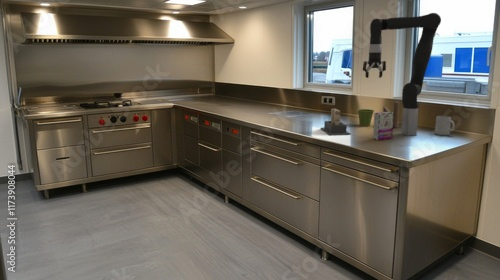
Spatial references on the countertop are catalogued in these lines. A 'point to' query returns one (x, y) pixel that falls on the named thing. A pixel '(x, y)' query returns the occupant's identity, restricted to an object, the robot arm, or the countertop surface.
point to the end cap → (335, 129)
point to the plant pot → (365, 116)
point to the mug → (443, 125)
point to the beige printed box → (335, 117)
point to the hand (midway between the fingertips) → (373, 77)
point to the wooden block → (394, 114)
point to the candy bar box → (383, 125)
